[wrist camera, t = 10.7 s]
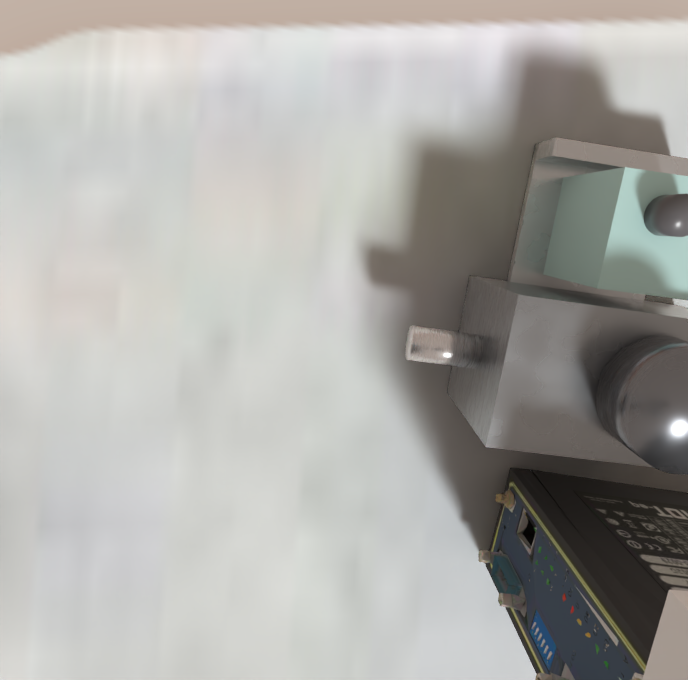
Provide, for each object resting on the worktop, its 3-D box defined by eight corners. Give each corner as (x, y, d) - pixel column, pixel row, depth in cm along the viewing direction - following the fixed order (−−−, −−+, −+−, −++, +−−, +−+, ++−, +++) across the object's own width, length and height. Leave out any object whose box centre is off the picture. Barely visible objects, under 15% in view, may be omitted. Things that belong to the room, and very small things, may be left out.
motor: (388, 384, 36) (420, 464, 25) (432, 127, 33) (492, 78, 21) (643, 417, 38) (787, 507, 26) (711, 172, 34) (913, 149, 22)
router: (490, 463, 38) (666, 721, 19) (730, 497, 39) (1131, 773, 20) (465, 562, 40) (603, 895, 20) (697, 592, 41) (1035, 932, 22)
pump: (542, 274, 35) (612, 292, 26) (563, 177, 33) (642, 164, 25) (617, 284, 35) (709, 304, 27) (640, 188, 34) (744, 179, 25)
